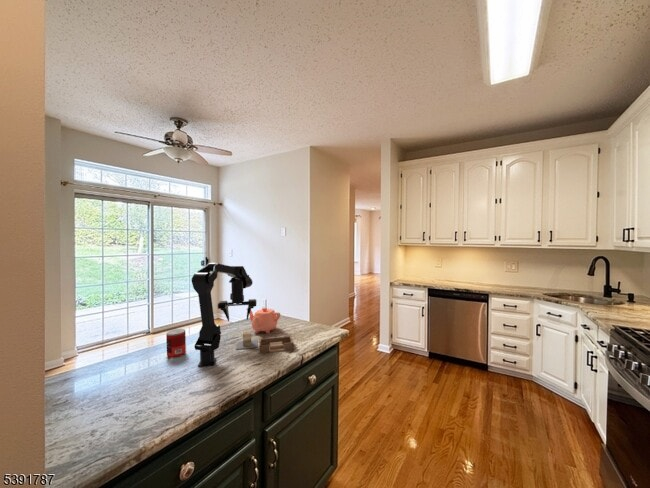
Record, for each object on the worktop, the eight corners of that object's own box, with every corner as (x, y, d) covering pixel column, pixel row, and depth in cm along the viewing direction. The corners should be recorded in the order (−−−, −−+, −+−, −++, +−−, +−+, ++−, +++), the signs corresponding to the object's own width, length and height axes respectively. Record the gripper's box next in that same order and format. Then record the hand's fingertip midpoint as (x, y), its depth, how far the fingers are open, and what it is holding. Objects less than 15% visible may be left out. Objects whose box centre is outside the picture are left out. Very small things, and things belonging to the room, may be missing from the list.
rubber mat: (257, 347, 135) (257, 346, 135) (236, 349, 132) (236, 349, 132) (257, 340, 144) (257, 339, 144) (237, 342, 142) (237, 341, 142)
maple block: (251, 345, 137) (251, 333, 137) (242, 346, 136) (242, 334, 136) (251, 342, 141) (251, 330, 141) (243, 343, 140) (243, 331, 140)
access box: (293, 349, 131) (293, 342, 131) (259, 353, 127) (259, 346, 127) (291, 342, 140) (291, 335, 140) (259, 345, 137) (259, 339, 137)
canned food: (189, 351, 131) (188, 328, 131) (178, 358, 123) (178, 334, 123) (174, 351, 132) (173, 328, 132) (163, 358, 124) (162, 334, 124)
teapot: (256, 337, 150) (256, 312, 150) (246, 329, 164) (245, 307, 164) (282, 331, 159) (282, 308, 159) (271, 324, 173) (270, 303, 173)
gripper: (256, 286, 150) (257, 315, 150) (221, 288, 146) (221, 317, 146) (255, 290, 139) (256, 320, 139) (217, 292, 135) (217, 323, 135)
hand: (238, 320), depth 140 cm, fingers open, 9 cm apart
